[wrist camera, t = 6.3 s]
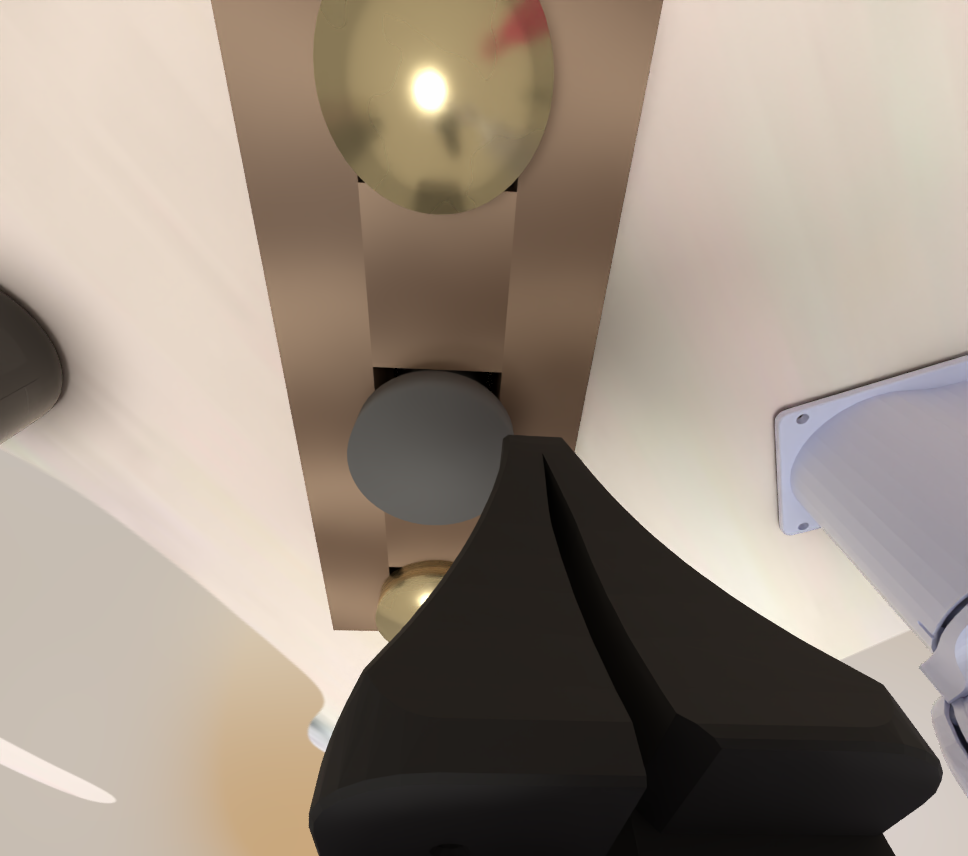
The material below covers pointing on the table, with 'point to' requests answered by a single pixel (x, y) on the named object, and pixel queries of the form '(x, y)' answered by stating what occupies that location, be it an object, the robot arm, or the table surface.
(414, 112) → the near brass knob
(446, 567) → the far brass knob
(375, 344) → the control panel
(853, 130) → the table surface
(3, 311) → the supplement bottle
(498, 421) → the middle black knob
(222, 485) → the table surface
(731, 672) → the robot arm
